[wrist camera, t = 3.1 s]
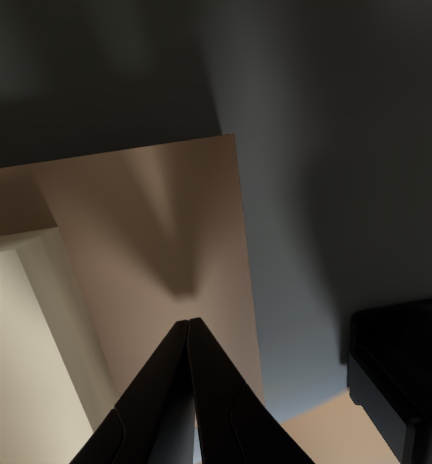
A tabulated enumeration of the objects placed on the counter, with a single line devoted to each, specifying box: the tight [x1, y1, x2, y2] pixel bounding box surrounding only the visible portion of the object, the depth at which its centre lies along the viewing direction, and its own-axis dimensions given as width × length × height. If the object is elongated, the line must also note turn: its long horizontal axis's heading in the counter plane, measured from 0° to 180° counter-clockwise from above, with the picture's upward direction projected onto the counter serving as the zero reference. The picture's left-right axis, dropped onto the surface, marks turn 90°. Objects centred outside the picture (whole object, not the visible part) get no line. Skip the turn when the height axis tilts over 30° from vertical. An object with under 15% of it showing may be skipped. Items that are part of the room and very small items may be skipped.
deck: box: [0, 133, 265, 428], centre depth 11 cm, size 13×12×3 cm
